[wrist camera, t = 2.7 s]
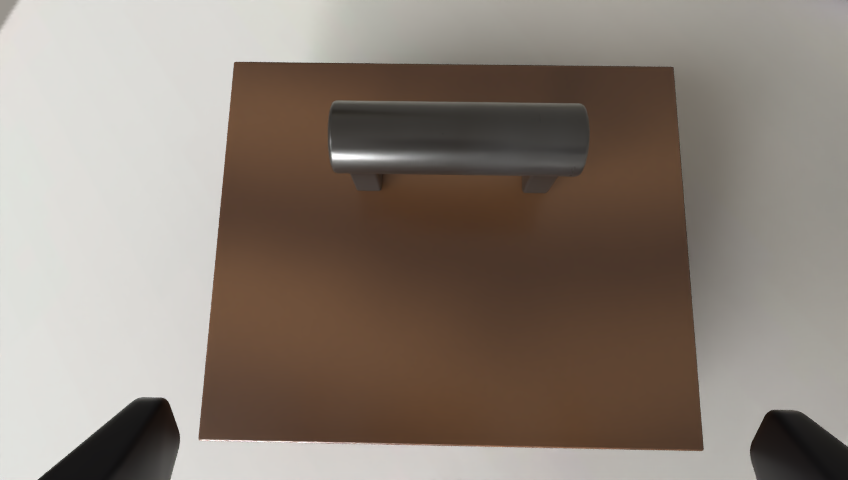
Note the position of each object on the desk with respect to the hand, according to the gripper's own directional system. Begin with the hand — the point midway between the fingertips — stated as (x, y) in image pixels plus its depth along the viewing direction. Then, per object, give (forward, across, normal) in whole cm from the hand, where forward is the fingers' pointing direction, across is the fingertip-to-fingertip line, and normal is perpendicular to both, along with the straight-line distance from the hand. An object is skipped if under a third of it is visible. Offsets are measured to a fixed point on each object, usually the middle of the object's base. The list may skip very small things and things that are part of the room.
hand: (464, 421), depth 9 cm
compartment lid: (+8, 0, +2) cm, 8 cm away
